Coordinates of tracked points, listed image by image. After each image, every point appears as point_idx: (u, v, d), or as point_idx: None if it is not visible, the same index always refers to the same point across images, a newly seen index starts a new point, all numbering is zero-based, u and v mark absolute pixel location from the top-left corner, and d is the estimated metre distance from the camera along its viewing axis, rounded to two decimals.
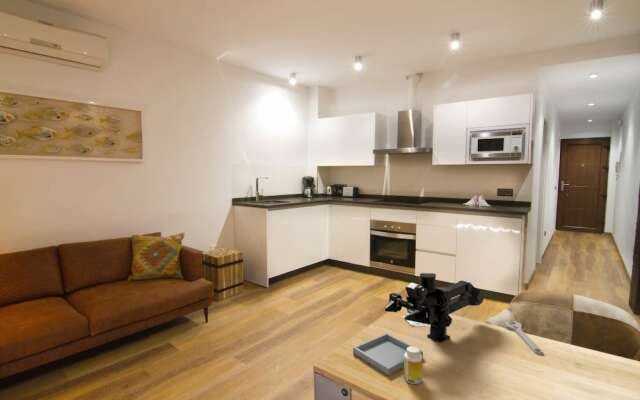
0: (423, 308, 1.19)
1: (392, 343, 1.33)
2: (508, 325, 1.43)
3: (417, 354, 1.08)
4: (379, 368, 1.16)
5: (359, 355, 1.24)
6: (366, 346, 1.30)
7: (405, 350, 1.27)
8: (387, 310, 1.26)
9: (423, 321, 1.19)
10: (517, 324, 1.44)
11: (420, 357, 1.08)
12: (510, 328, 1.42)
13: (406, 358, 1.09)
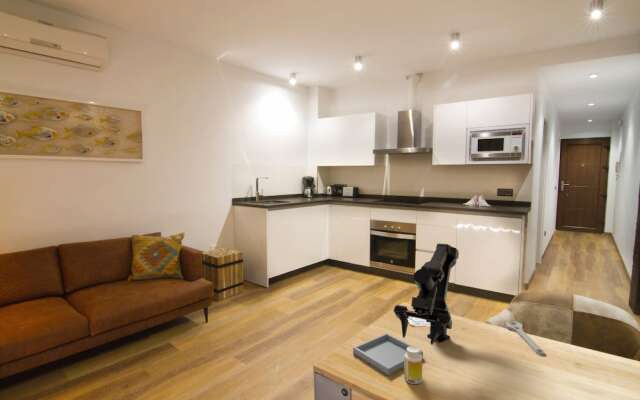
0: (442, 323, 1.11)
1: (392, 343, 1.33)
2: (509, 325, 1.43)
3: (417, 354, 1.08)
4: (379, 368, 1.16)
5: (359, 355, 1.24)
6: (366, 346, 1.30)
7: (405, 350, 1.27)
8: None
9: (444, 329, 1.14)
10: (518, 324, 1.44)
11: (420, 357, 1.08)
12: (511, 328, 1.42)
13: (406, 358, 1.09)
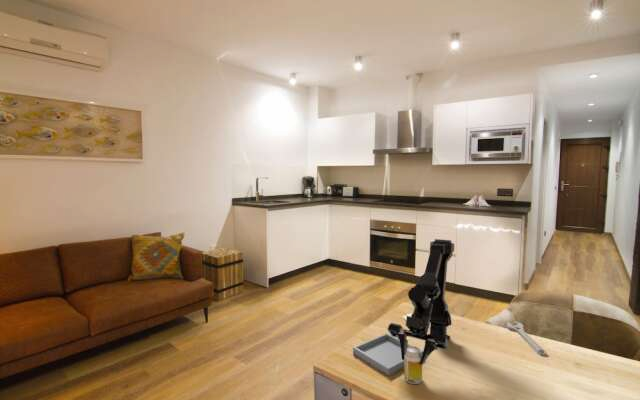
0: (432, 343, 1.08)
1: (392, 343, 1.33)
2: (510, 326, 1.43)
3: (417, 354, 1.08)
4: (379, 368, 1.16)
5: (359, 355, 1.24)
6: (366, 346, 1.30)
7: None
8: None
9: (434, 348, 1.11)
10: (519, 325, 1.43)
11: (420, 357, 1.08)
12: (512, 329, 1.41)
13: (406, 358, 1.09)
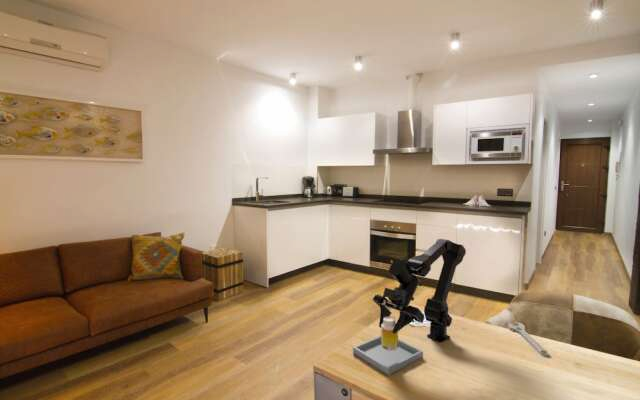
0: (405, 314, 1.14)
1: None
2: (512, 326, 1.42)
3: (391, 323, 1.16)
4: (379, 368, 1.16)
5: (359, 355, 1.24)
6: (366, 346, 1.30)
7: (405, 350, 1.27)
8: None
9: (411, 321, 1.16)
10: (520, 325, 1.43)
11: None
12: (514, 329, 1.41)
13: (381, 326, 1.17)
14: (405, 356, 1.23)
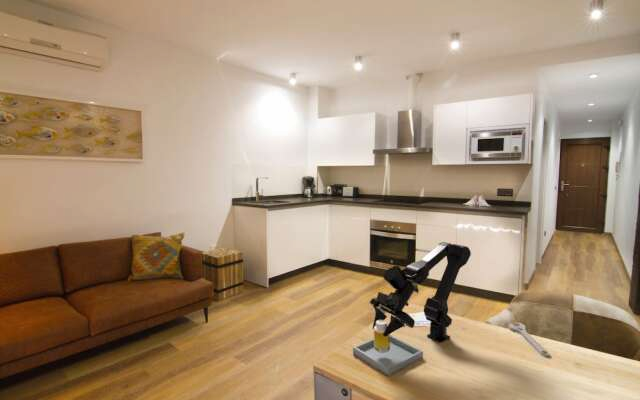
0: (395, 318, 1.18)
1: (392, 343, 1.33)
2: (512, 327, 1.42)
3: (382, 326, 1.20)
4: (379, 368, 1.16)
5: (359, 355, 1.24)
6: (366, 346, 1.30)
7: (405, 350, 1.27)
8: None
9: (402, 325, 1.20)
10: (521, 326, 1.43)
11: None
12: (514, 330, 1.40)
13: (374, 328, 1.23)
14: (405, 356, 1.23)
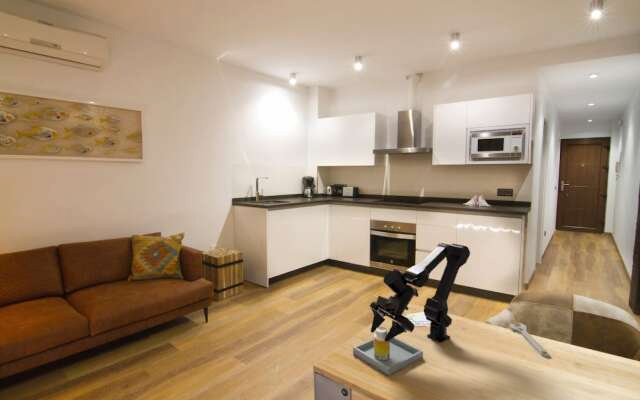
0: (396, 324, 1.17)
1: (392, 343, 1.33)
2: (513, 327, 1.42)
3: (382, 334, 1.20)
4: (379, 368, 1.16)
5: (359, 355, 1.24)
6: (366, 346, 1.30)
7: (405, 350, 1.27)
8: (374, 330, 1.26)
9: (403, 331, 1.19)
10: (522, 326, 1.42)
11: None
12: (515, 330, 1.40)
13: (374, 336, 1.23)
14: (405, 356, 1.23)
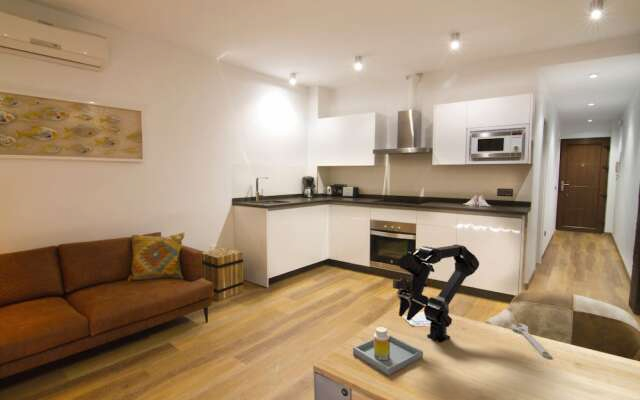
0: (410, 300, 1.21)
1: (392, 343, 1.33)
2: (515, 327, 1.41)
3: (382, 334, 1.21)
4: (379, 368, 1.16)
5: (359, 355, 1.24)
6: (366, 346, 1.30)
7: (405, 350, 1.27)
8: (402, 314, 1.31)
9: (422, 306, 1.21)
10: (524, 327, 1.42)
11: (385, 337, 1.21)
12: (517, 331, 1.40)
13: (374, 335, 1.23)
14: (405, 356, 1.23)
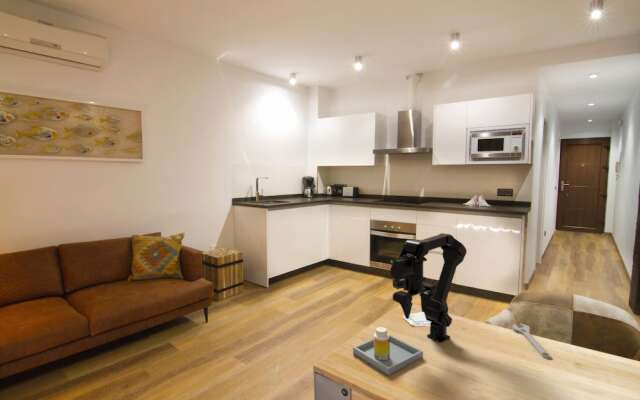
0: None
1: (392, 343, 1.33)
2: (516, 328, 1.41)
3: (382, 334, 1.21)
4: (379, 368, 1.16)
5: (359, 355, 1.24)
6: (366, 346, 1.30)
7: (405, 350, 1.27)
8: (423, 309, 1.31)
9: None
10: (525, 327, 1.41)
11: (385, 337, 1.21)
12: (518, 331, 1.39)
13: (374, 335, 1.23)
14: (405, 356, 1.23)
